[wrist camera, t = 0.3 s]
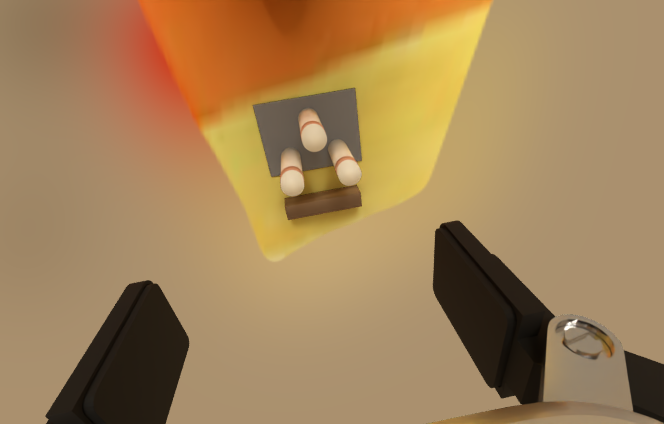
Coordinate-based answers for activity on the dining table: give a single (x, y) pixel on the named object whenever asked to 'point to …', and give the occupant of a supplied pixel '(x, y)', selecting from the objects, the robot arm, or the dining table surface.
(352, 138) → the pin deck mark
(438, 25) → the dining table surface
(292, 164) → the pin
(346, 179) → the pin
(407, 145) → the dining table surface
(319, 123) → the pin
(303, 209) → the backstop
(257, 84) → the dining table surface
